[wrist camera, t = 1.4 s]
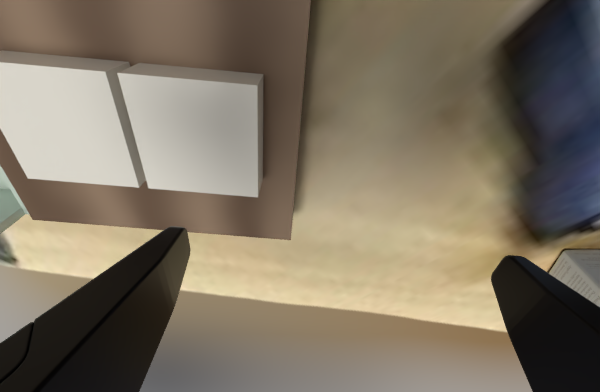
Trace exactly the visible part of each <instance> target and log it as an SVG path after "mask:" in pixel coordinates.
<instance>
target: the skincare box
mask: <svg viewBox="0 0 600 392" xmlns="http://www.w3.org/2000/svg"><path fill="white" fill-rule="evenodd" d="M549 274H550V275H552V276H553V277H555V278H556V279H558V280H559V281H561V282H562V283H564V284H565V285H567V286H568V287H570V288H571V289H573V290H574V291H576V292H577V293H579V294H581V295H582V296H584V297H585V298H587V299H588V300H590V301H591V302H593V303H594V304H596V305H597V306H599V307H600V250H597V249H579V250H565V251H563V252H562V254H561V255H560V257H559V258H558V260H557V261H556V263H555V264H554V266H553V267H552V269H551V270H550V272H549Z"/></svg>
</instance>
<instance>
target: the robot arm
mask: <svg viewBox="0 0 600 392" xmlns="http://www.w3.org/2000/svg"><path fill="white" fill-rule="evenodd" d="M189 256H190V244H189V239H188V233H187V230H186V228H184V227H177V226H170V227H168V228H166V229H165V230H164V231H162V232H161V233H159V234H158V235H156V236H155V237H153V238H152V239H151V240H149V241H148V242H146V243H145V244H143V245H142V246H140V247H139V248H138V249H136V250H135V251H133V252H132V253H130V254H129V255H127V256H126V257H125V258H123V259H122V260H120V261H119V262H117V263H116V264H114V265H113V266H112V267H110V268H109V269H107V270H106V271H104V272H103V273H101V274H100V275H99V276H97V277H96V278H94V279H93V280H91V281H90V282H88V283H87V284H86V285H84V286H83V287H81V288H80V289H78V290H77V291H75V292H74V293H73V294H71V295H70V296H68V297H67V298H65V299H64V300H62V301H61V302H60V303H58V304H57V305H55V306H54V307H52V308H51V309H50V310H48V311H47V312H45V313H44V314H42V315H41V316H40V317H38V318H36V319H35V321H34V322H31V323H29V324H28V325H26V326H25V327H23V328H22V329H20V330H19V331H17V332H16V333H15V334H13V335H12V336H10V337H9V338H7V339H6V340H4V341H3V342H1V343H0V392H139V391H140V388H141V386H142V384H143V381H144V379H145V377H146V374H147V372H148V369H149V367H150V365H151V362H152V360H153V357H154V355H155V353H156V350H157V348H158V346H159V343H160V341H161V339H162V336H163V334H164V331H165V329H166V327H167V324H168V322H169V319H170V317H171V315H172V312H173V309H174V307H175V304H176V301H177V297H178V294H179V291H180V287H181V284H182V280H183V277H184V273H185V270H186V267H187V263H188V260H189ZM491 282H492V285H493V288H494V291H495V295H496V298H497V301H498V304H499V307H500V310H501V313H502V317H503V320H504V323H505V326H506V329H507V332H508V334H509V337H510V339H511V342H512V344H513V347H514V349H515V351H516V353H517V356H518V358H519V361H520V363H521V365H522V368H523V370H524V372H525V374H526V377H527V379H528V382H529V384H530V386H531V389H532V391H533V392H600V307H599V306H597V305H596V304H594V303H593V302H591V301H590V300H588V299H587V298H585V297H584V296H582V295H581V294H579V293H577V292H576V291H574V290H573V289H571V288H570V287H568V286H567V285H565V284H564V283H562V282H561V281H559V280H558V279H556V278H555V277H553V276H552V275H550V274H549V273H547V272H546V271H544V270H543V269H541V268H540V267H538V266H537V265H535V264H534V263H532V262H531V261H529V260H528V259H526V258H524V257H521V256H512V255H508V256H505V257H504V258H503V259H502V260H501V262H500V263H499V265H498V266H497V267H496V269H495V270H494V272H493V273H492V276H491Z"/></svg>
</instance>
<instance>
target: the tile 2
mask: <svg viewBox="0 0 600 392" xmlns="http://www.w3.org/2000/svg"><path fill="white" fill-rule="evenodd" d="M117 74H118V78H119V82H120V85H121V89H122V93H123V96H124V100H125V104H126V107H127V111H128V115H129V118H130V122H131V126H132V129H133V133H134V137H135V140H136V144H137V148H138V152H139V155H140V159H141V163H142V166H143V170H144V174H145V177H146V181H147V185H148V188H150V189H162V190H174V191H186V192H198V193H210V194H223V195H235V196H247V197H258V195H259V191H260V188H261V184H262V180H263V74H255V73H244V72H233V71H223V70H212V69H201V68H190V67H179V66H168V65H157V64H146V63H138V64H136V65H134V66H131V67H129V68H127V69H125V70H122V71H120V72H118V73H117Z"/></svg>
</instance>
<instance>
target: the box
mask: <svg viewBox="0 0 600 392" xmlns="http://www.w3.org/2000/svg"><path fill="white" fill-rule="evenodd" d="M25 214H29V212H28V211H27V209H26V207H25V206H24V204H23V202H22V201H21V199H20V197H19V196H18V194H17V192H16V191H15V189H14V187H13V186H12V184H11V182H10V181H9V179H8V177H7V176H6V174H5V172H4V171H3V169H2V167H1V166H0V234H1V233H2V232H3V231H5V230H6V229H7V228H8V227H10V226H11V225H12V224H13V223H15V222H16V221H17V220H19V219H20V218H21V217H22V216H24V215H25Z"/></svg>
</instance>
